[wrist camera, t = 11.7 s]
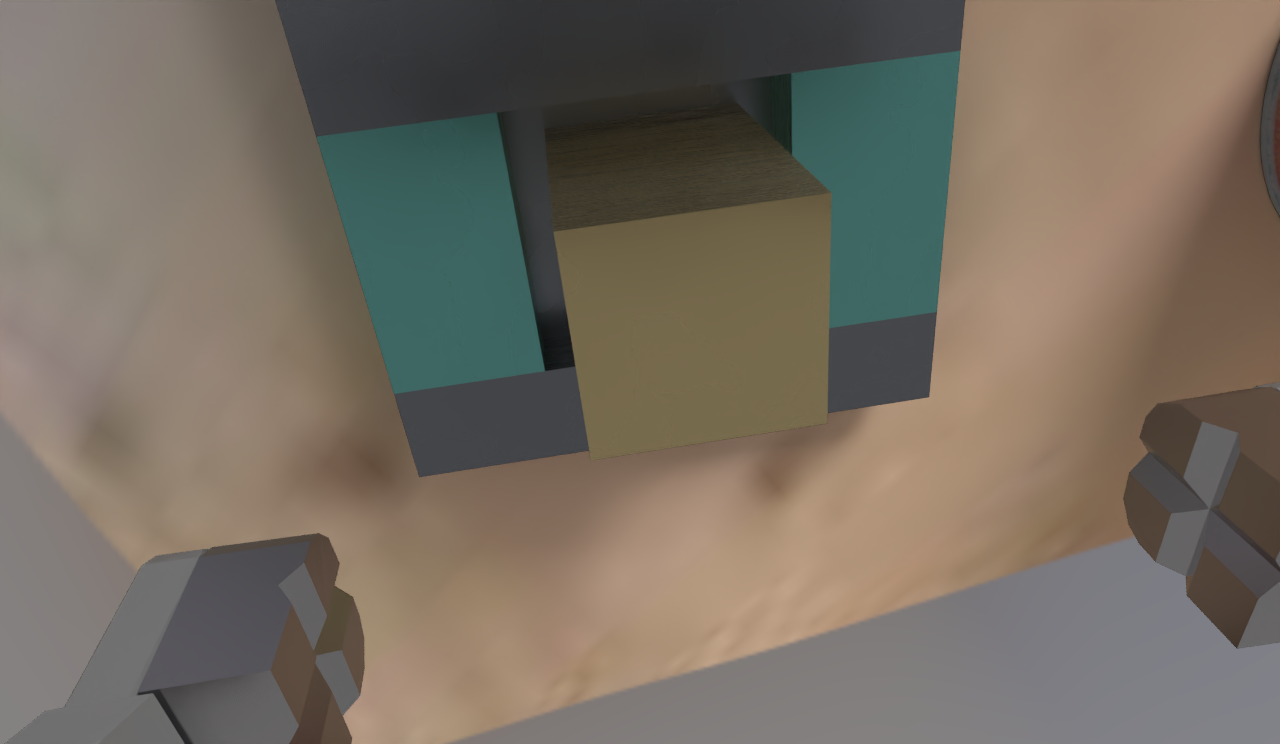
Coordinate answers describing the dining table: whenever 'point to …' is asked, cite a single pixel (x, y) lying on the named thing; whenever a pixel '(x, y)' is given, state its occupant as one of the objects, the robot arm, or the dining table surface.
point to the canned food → (1272, 133)
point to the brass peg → (690, 278)
